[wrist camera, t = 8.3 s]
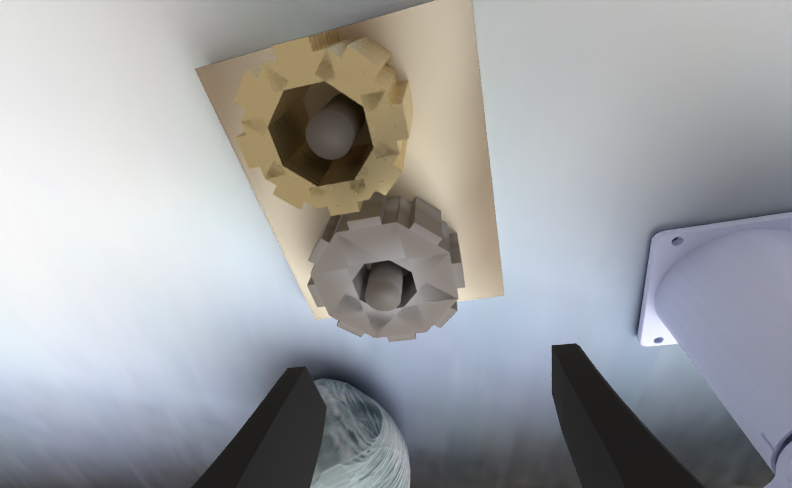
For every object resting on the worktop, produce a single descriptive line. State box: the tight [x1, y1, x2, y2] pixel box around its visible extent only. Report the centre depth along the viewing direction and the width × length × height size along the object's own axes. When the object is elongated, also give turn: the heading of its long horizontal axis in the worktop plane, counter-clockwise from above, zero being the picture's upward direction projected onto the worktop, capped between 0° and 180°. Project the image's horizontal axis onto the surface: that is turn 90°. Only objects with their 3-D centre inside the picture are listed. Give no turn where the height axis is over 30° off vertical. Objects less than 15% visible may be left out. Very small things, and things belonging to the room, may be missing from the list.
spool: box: [310, 378, 410, 488], centre depth 26 cm, size 14×10×10 cm
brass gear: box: [234, 29, 414, 216], centre depth 14 cm, size 6×6×4 cm
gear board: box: [195, 0, 504, 342], centre depth 16 cm, size 11×14×4 cm
